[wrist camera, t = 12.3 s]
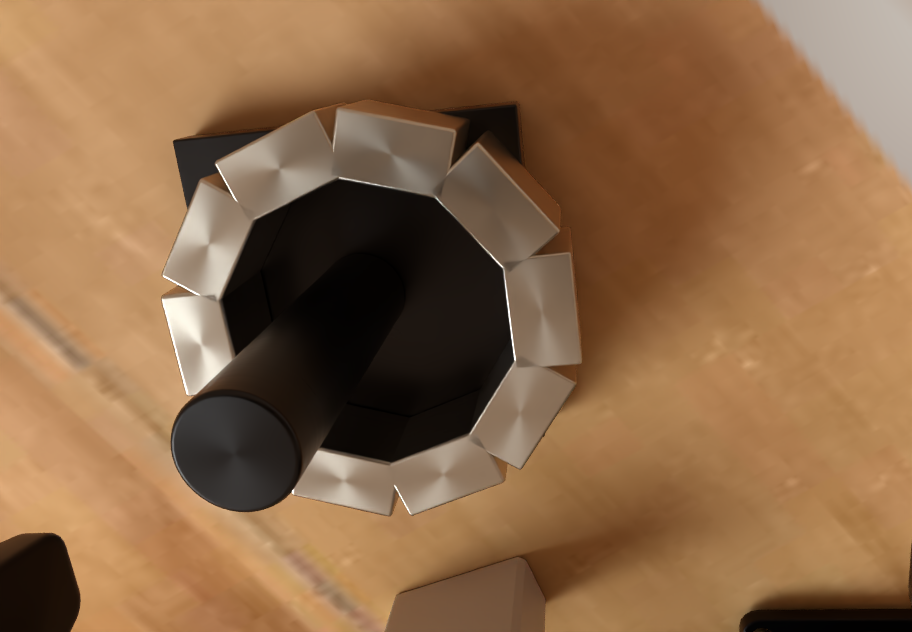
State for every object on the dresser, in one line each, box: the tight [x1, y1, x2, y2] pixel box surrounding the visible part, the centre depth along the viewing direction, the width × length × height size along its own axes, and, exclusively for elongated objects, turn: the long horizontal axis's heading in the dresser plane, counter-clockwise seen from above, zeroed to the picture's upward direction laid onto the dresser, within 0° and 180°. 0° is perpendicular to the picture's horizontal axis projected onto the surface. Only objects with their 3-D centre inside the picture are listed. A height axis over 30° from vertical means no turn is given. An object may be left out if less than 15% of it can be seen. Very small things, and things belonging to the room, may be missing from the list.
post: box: [171, 101, 545, 512], centre depth 16 cm, size 8×8×9 cm
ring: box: [161, 99, 582, 516], centre depth 18 cm, size 9×9×2 cm
